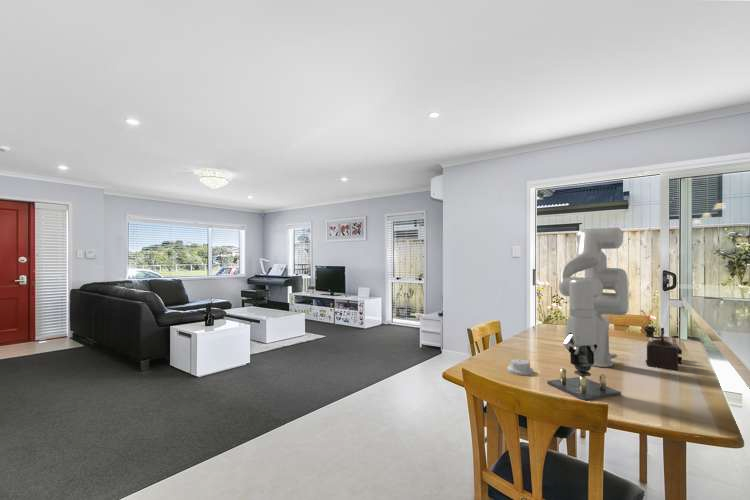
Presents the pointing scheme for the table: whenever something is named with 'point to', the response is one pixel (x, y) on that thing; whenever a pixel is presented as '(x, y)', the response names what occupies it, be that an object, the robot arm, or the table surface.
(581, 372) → the grey chess piece
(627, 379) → the table surface
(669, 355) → the dark boxy piece
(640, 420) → the table surface
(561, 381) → the standoff chassis
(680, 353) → the end cap
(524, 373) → the mechanical component
